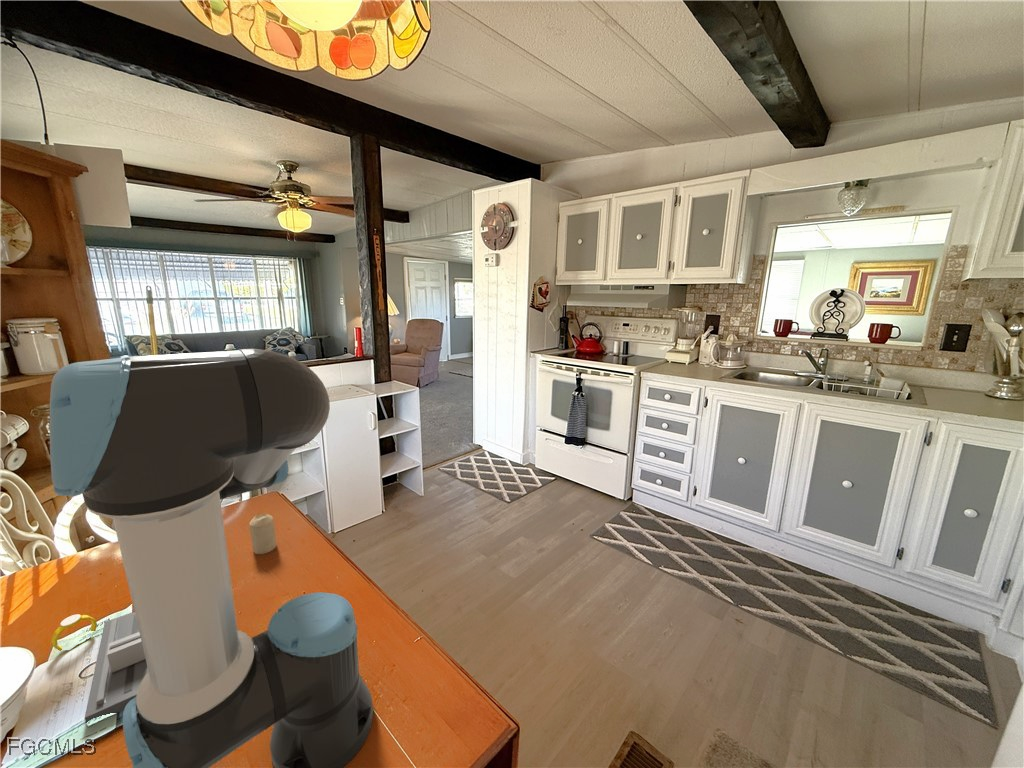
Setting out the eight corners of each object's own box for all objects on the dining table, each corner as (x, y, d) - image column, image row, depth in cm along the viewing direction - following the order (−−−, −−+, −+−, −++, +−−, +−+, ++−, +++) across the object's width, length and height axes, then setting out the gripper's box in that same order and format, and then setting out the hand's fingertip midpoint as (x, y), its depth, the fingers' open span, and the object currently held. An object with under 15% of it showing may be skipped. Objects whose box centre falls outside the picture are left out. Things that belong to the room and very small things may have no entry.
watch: (61, 659, 76) (50, 635, 74) (54, 653, 77) (44, 630, 75) (102, 633, 81) (93, 611, 79) (95, 628, 82) (86, 606, 80)
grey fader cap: (149, 657, 74) (145, 639, 73) (111, 672, 71) (106, 654, 70) (149, 646, 76) (145, 628, 75) (113, 660, 73) (109, 642, 72)
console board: (222, 664, 75) (220, 652, 75) (87, 727, 64) (83, 714, 63) (213, 591, 93) (212, 580, 93) (106, 630, 82) (103, 618, 81)
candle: (248, 552, 107) (243, 519, 105) (265, 540, 112) (261, 509, 110) (263, 556, 106) (259, 523, 103) (281, 544, 111) (277, 512, 108)
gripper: (192, 528, 72) (210, 635, 78) (190, 499, 82) (206, 595, 87) (136, 544, 68) (160, 656, 73) (141, 511, 77) (162, 612, 83)
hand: (185, 623), depth 80 cm, fingers closed
